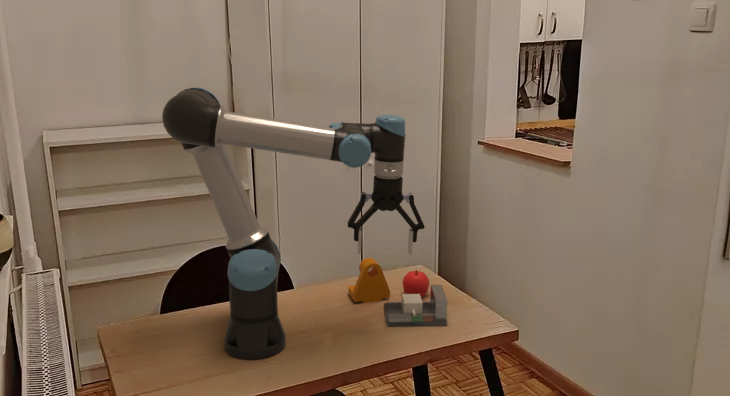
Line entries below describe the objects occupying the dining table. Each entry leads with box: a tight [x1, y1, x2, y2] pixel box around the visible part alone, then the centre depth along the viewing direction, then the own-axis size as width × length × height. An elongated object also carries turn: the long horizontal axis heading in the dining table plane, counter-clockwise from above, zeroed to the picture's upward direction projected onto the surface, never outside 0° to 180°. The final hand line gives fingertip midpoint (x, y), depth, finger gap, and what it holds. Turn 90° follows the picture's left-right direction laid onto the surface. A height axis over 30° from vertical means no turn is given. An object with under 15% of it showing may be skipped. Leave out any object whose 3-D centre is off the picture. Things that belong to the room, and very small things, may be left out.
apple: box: [402, 269, 430, 298], centre depth 195 cm, size 8×8×8 cm
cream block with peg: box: [401, 293, 423, 316], centre depth 180 cm, size 5×9×4 cm, turn 3°
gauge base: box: [383, 284, 448, 328], centre depth 182 cm, size 16×12×7 cm
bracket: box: [348, 257, 391, 304], centre depth 193 cm, size 11×7×12 cm, turn 108°
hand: (384, 252), depth 177 cm, fingers open, 13 cm apart
